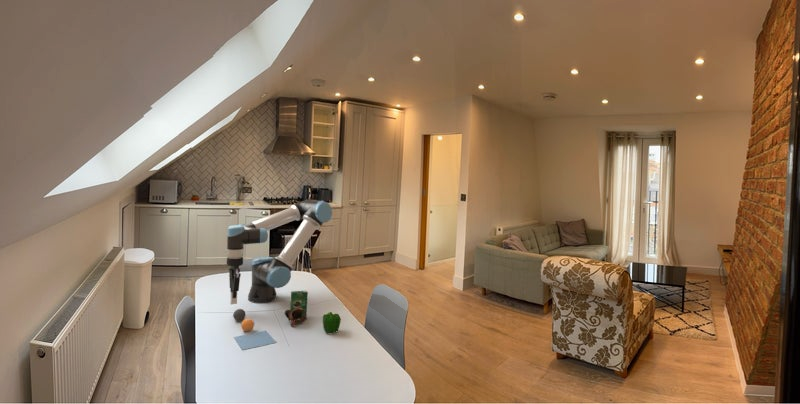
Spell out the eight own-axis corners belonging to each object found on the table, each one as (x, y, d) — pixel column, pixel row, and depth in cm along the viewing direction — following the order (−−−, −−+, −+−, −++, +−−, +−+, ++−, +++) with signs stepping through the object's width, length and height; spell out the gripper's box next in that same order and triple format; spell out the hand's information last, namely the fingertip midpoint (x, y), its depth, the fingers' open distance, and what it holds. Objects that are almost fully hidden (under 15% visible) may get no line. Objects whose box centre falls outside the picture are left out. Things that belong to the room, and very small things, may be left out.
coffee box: (305, 314, 203) (306, 289, 201) (307, 317, 200) (307, 291, 199) (289, 316, 199) (290, 291, 198) (290, 318, 197) (291, 292, 195)
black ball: (243, 317, 195) (243, 306, 195) (246, 321, 191) (247, 310, 190) (231, 319, 192) (232, 308, 191) (234, 323, 188) (234, 312, 187)
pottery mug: (310, 321, 196) (311, 310, 192) (300, 335, 189) (301, 324, 184) (288, 312, 198) (289, 301, 194) (278, 326, 191) (278, 315, 186)
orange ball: (252, 327, 184) (252, 315, 183) (255, 331, 180) (255, 320, 179) (239, 329, 181) (239, 318, 180) (242, 334, 176) (243, 322, 176)
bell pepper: (331, 326, 190) (332, 306, 189) (343, 331, 184) (344, 310, 184) (317, 331, 183) (318, 310, 182) (329, 337, 178) (330, 315, 177)
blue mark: (265, 330, 181) (265, 330, 181) (276, 342, 170) (276, 342, 170) (233, 337, 173) (233, 337, 173) (242, 350, 162) (242, 349, 162)
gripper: (223, 254, 199) (222, 300, 201) (230, 260, 189) (228, 308, 191) (239, 253, 204) (238, 298, 206) (246, 259, 193) (245, 306, 195)
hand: (233, 303), depth 198 cm, fingers closed
